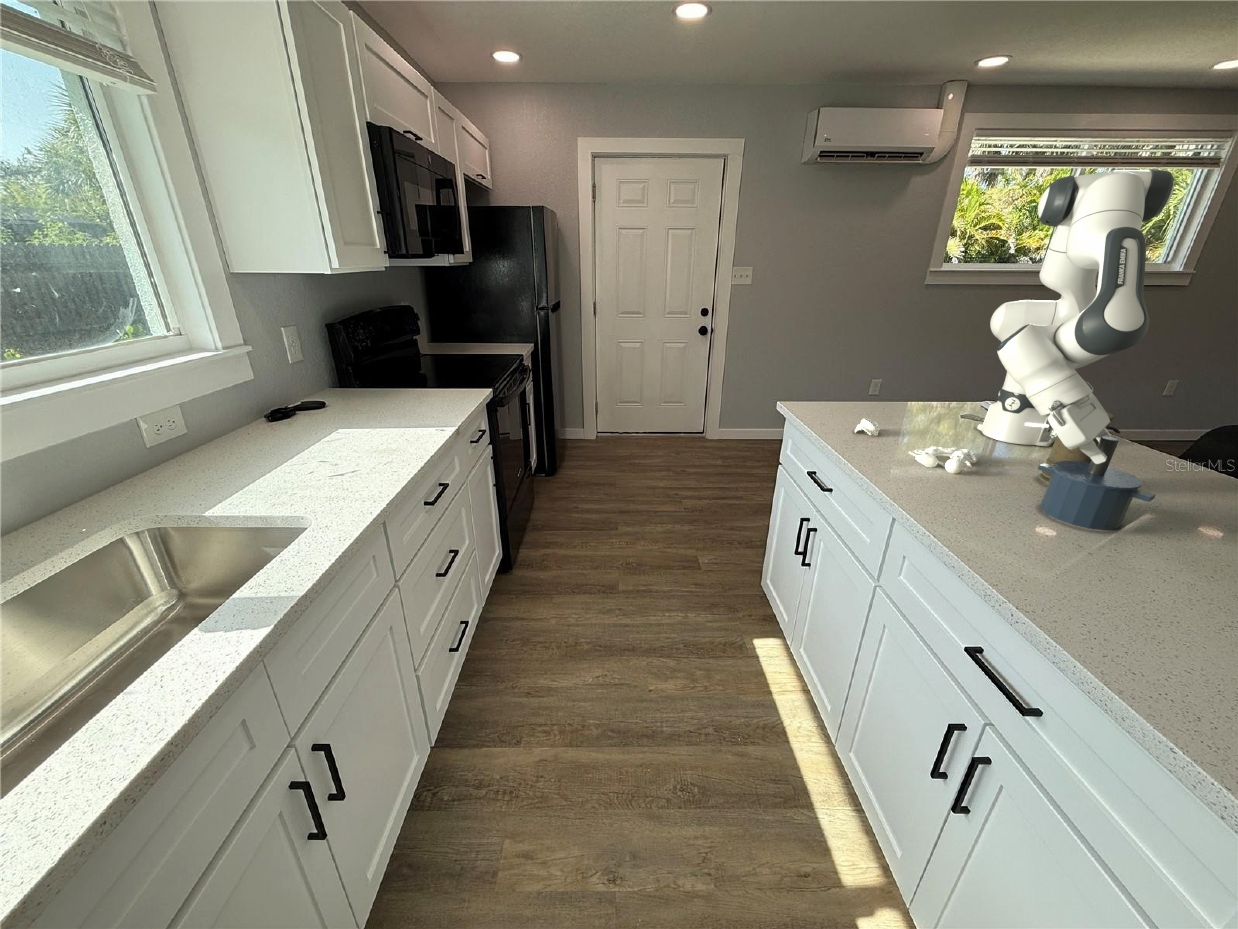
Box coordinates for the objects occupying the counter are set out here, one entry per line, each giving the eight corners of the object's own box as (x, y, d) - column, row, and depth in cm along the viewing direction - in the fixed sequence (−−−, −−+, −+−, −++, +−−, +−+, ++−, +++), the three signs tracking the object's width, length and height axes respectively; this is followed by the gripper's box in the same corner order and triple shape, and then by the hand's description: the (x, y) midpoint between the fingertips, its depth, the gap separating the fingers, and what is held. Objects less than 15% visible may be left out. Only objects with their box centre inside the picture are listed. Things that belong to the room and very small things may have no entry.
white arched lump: (856, 430, 156) (857, 415, 155) (879, 432, 153) (881, 416, 151) (853, 436, 150) (854, 420, 148) (878, 437, 146) (879, 421, 145)
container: (1096, 494, 112) (1127, 419, 105) (1051, 491, 113) (1079, 416, 106) (1071, 478, 120) (1098, 407, 113) (1029, 475, 121) (1054, 405, 114)
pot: (1041, 493, 112) (1056, 455, 108) (1147, 528, 98) (1167, 485, 94) (1014, 506, 107) (1028, 466, 103) (1121, 544, 92) (1141, 500, 89)
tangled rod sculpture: (927, 449, 141) (929, 436, 140) (987, 460, 130) (990, 445, 129) (899, 465, 129) (902, 450, 128) (963, 478, 119) (966, 462, 117)
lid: (1068, 460, 107) (1082, 423, 104) (1151, 483, 96) (1170, 442, 93) (1038, 473, 101) (1052, 434, 98) (1123, 499, 90) (1142, 455, 87)
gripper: (1066, 397, 91) (1117, 461, 88) (1090, 381, 103) (1136, 437, 100) (1029, 415, 96) (1075, 476, 93) (1056, 397, 108) (1098, 451, 105)
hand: (1107, 455), depth 96 cm, fingers open, 8 cm apart
